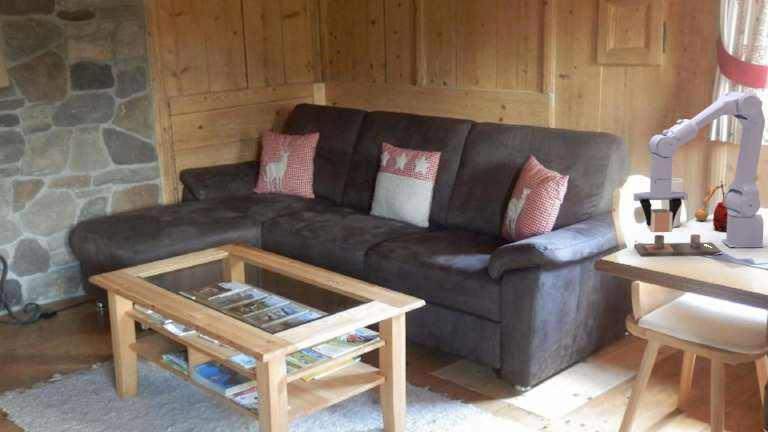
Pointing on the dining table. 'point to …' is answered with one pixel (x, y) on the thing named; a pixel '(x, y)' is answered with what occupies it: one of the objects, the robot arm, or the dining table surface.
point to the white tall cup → (676, 187)
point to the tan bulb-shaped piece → (702, 213)
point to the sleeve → (660, 220)
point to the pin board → (676, 248)
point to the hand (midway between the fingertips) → (659, 224)
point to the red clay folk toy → (720, 214)
